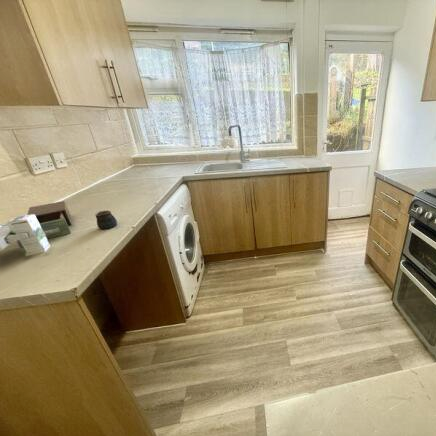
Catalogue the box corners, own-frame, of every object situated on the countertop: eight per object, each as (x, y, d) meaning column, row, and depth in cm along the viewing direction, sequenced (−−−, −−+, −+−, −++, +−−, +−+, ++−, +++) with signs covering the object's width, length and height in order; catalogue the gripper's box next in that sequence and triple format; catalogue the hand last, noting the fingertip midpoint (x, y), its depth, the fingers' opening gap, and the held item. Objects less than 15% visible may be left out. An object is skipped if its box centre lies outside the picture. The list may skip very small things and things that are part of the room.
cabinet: (72, 226, 114) (65, 209, 110) (35, 235, 106) (26, 217, 103) (71, 216, 125) (64, 200, 122) (37, 223, 118) (29, 207, 114)
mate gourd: (117, 223, 115) (109, 204, 111) (120, 228, 110) (112, 208, 106) (99, 228, 111) (90, 208, 107) (101, 234, 106) (91, 213, 102)
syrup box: (33, 250, 94) (13, 216, 88) (52, 246, 96) (34, 213, 90) (26, 258, 89) (4, 222, 83) (46, 253, 91) (26, 218, 85)
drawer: (71, 236, 102) (64, 221, 100) (33, 246, 96) (25, 230, 93) (69, 222, 116) (64, 209, 113) (36, 229, 109) (30, 216, 107)
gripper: (0, 235, 94) (47, 227, 99) (-35, 261, 77) (23, 250, 82) (-8, 220, 91) (40, 213, 97) (-47, 244, 74) (14, 234, 80)
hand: (32, 230), depth 89 cm, fingers closed on syrup box, 5 cm apart
